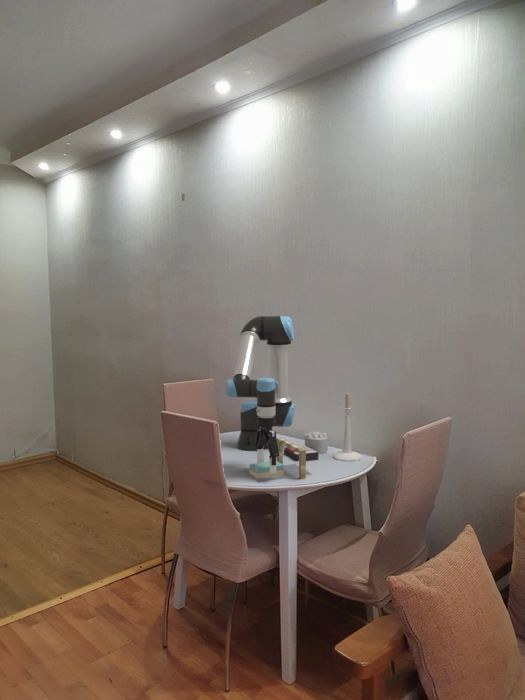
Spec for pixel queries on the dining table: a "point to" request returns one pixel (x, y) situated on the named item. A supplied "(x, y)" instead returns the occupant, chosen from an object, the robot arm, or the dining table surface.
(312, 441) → the lumpy-topped squat cylinder
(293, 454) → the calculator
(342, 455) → the candlestick
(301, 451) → the rail
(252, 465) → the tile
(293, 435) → the dining table surface
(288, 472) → the mat
